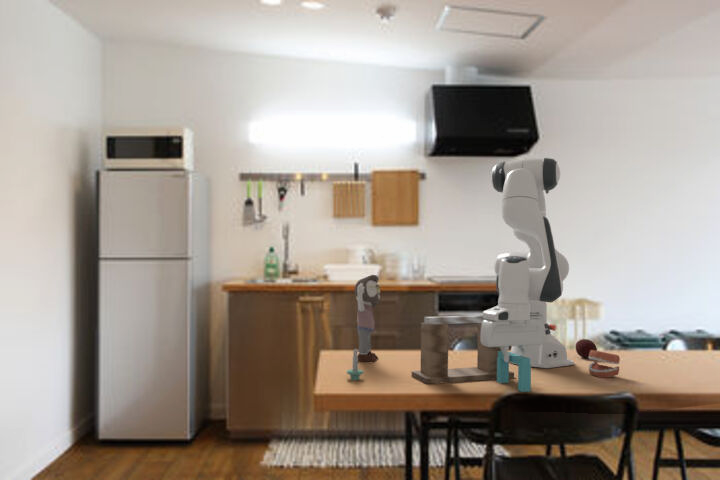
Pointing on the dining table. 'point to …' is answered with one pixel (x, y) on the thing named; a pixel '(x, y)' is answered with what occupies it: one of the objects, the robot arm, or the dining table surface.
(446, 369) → the shelf
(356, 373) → the screw
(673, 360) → the dining table surface
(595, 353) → the dentures
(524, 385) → the teal stepped bracket
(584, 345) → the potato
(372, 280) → the figurine
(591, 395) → the dining table surface
